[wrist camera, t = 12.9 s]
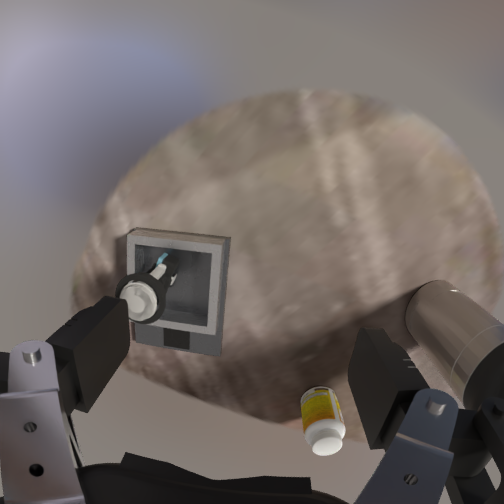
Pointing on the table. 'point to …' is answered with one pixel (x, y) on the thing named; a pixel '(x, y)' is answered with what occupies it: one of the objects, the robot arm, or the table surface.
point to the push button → (148, 290)
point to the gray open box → (184, 288)
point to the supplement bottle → (322, 420)
